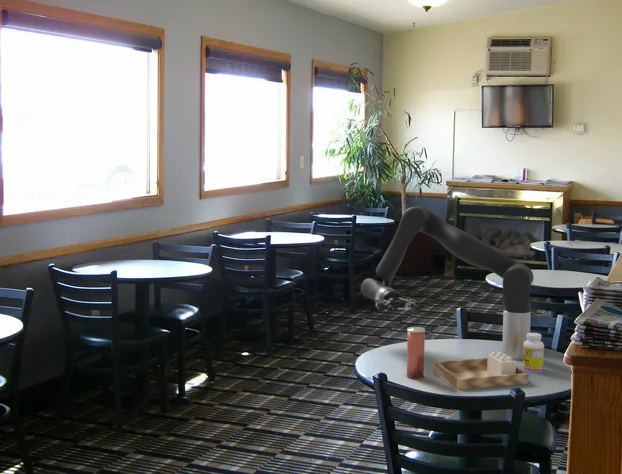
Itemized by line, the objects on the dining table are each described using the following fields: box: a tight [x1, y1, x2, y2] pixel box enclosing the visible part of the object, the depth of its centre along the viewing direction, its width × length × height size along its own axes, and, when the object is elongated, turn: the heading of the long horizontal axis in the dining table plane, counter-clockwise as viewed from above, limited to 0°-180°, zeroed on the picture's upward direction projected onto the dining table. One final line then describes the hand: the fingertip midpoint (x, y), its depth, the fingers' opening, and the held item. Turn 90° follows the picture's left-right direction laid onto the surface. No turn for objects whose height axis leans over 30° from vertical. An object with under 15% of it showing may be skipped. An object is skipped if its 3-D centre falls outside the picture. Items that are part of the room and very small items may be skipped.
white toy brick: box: [487, 350, 517, 376], centre depth 262 cm, size 5×10×7 cm, turn 13°
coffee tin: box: [406, 326, 426, 380], centre depth 264 cm, size 6×6×16 cm
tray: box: [433, 357, 529, 392], centre depth 261 cm, size 24×20×4 cm
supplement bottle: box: [522, 332, 545, 373], centre depth 269 cm, size 7×7×13 cm
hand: (404, 309), depth 273 cm, fingers open, 8 cm apart
